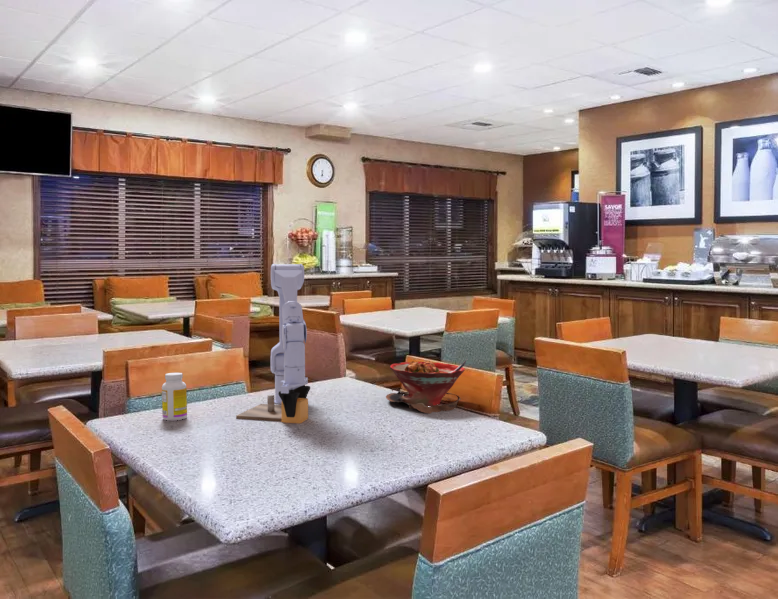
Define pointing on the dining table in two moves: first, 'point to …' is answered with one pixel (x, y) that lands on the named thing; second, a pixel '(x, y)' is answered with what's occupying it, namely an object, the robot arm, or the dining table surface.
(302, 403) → the orange hollow cube
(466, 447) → the dining table surface
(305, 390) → the robot arm
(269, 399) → the wooden board with peg
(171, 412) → the supplement bottle
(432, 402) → the stew
